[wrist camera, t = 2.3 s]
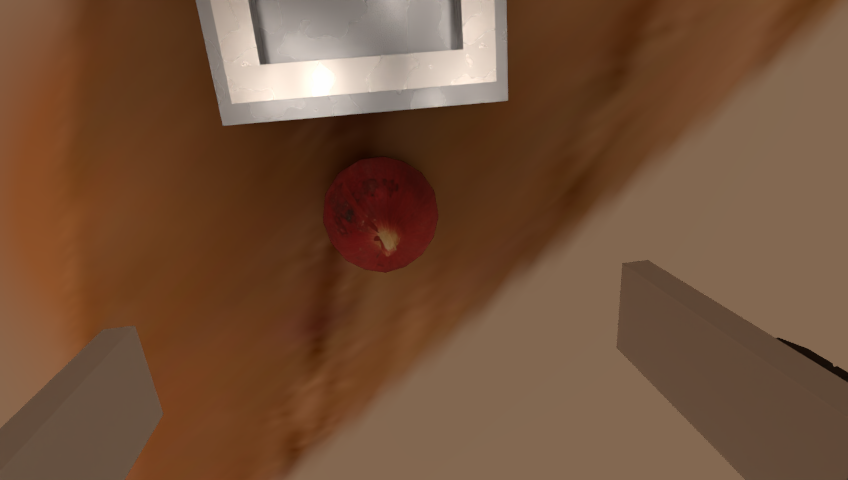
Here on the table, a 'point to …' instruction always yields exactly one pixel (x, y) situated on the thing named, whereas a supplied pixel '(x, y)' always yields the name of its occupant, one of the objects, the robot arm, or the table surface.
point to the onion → (380, 214)
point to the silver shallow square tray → (352, 56)
